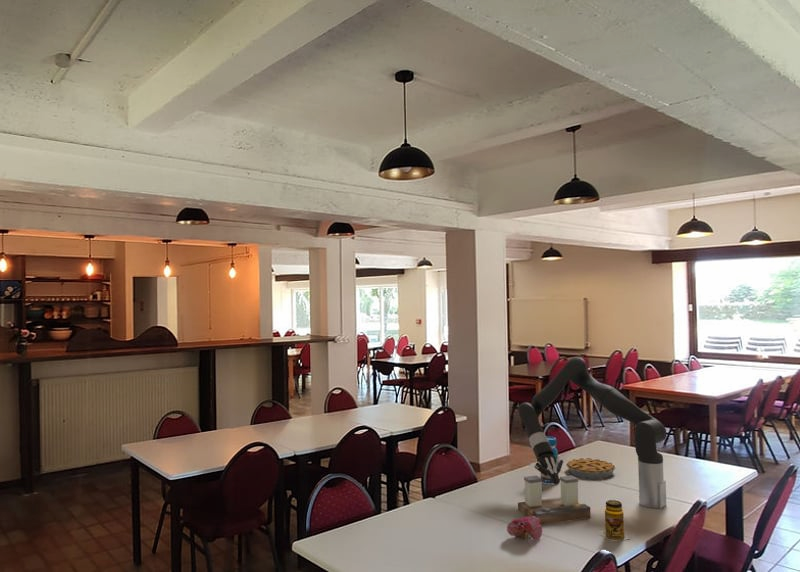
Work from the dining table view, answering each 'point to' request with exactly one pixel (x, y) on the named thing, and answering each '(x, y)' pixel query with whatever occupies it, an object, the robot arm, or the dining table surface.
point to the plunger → (533, 491)
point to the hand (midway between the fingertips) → (557, 483)
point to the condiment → (614, 521)
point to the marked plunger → (569, 490)
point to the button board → (555, 511)
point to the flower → (525, 527)
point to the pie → (590, 468)
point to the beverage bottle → (547, 478)
